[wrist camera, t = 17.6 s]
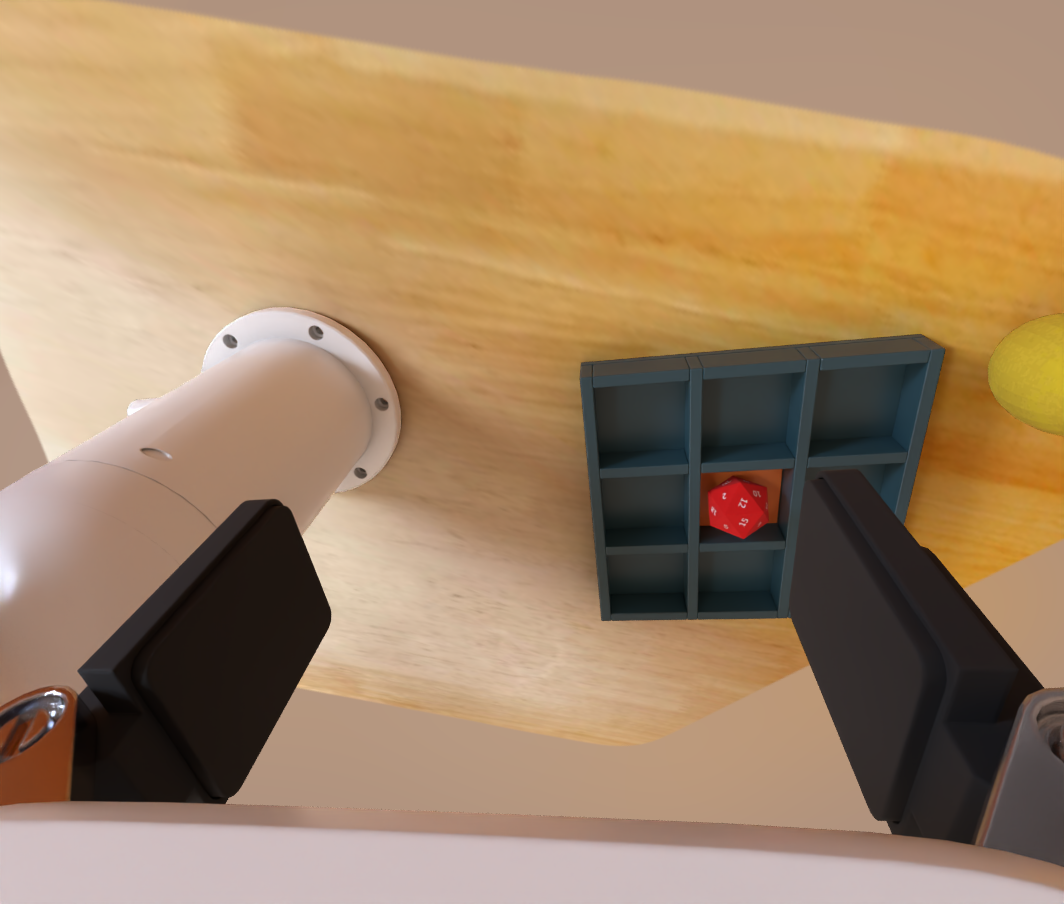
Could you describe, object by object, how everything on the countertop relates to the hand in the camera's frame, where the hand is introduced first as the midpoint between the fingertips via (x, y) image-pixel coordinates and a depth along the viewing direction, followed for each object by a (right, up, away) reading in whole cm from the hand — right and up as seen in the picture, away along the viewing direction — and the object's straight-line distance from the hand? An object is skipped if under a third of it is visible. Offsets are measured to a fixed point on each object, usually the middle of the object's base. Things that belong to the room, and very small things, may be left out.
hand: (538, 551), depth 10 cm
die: (+13, -1, +25) cm, 28 cm away
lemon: (+26, +8, +20) cm, 33 cm away
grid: (+13, 0, +26) cm, 29 cm away
